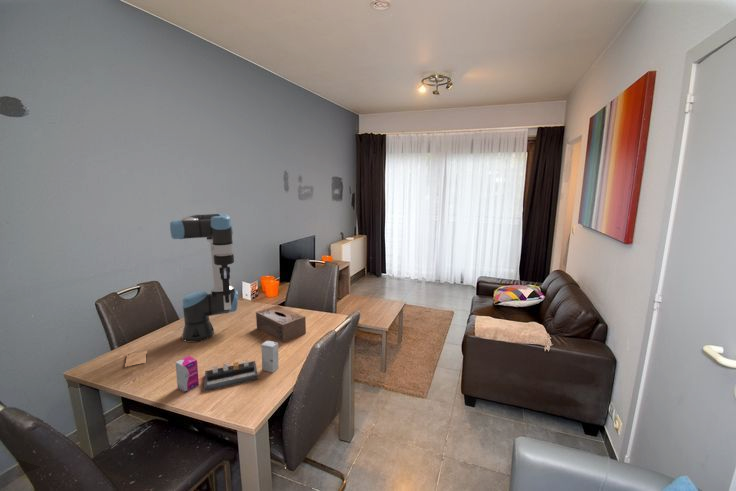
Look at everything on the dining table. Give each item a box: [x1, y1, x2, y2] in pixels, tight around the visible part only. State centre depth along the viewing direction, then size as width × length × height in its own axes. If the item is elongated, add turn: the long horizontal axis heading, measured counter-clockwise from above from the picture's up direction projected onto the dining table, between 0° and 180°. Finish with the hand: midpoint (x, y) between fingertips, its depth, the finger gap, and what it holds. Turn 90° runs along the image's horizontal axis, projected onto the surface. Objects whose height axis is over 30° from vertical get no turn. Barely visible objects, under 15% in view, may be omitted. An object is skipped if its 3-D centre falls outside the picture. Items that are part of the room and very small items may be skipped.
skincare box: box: [261, 340, 280, 373], centre depth 142 cm, size 6×4×12 cm
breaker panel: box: [203, 359, 259, 392], centre depth 136 cm, size 20×12×6 cm, turn 114°
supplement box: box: [175, 355, 200, 393], centre depth 129 cm, size 6×6×12 cm
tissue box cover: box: [255, 304, 307, 343], centre depth 180 cm, size 26×14×10 cm, turn 49°
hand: (227, 308), depth 137 cm, fingers closed
